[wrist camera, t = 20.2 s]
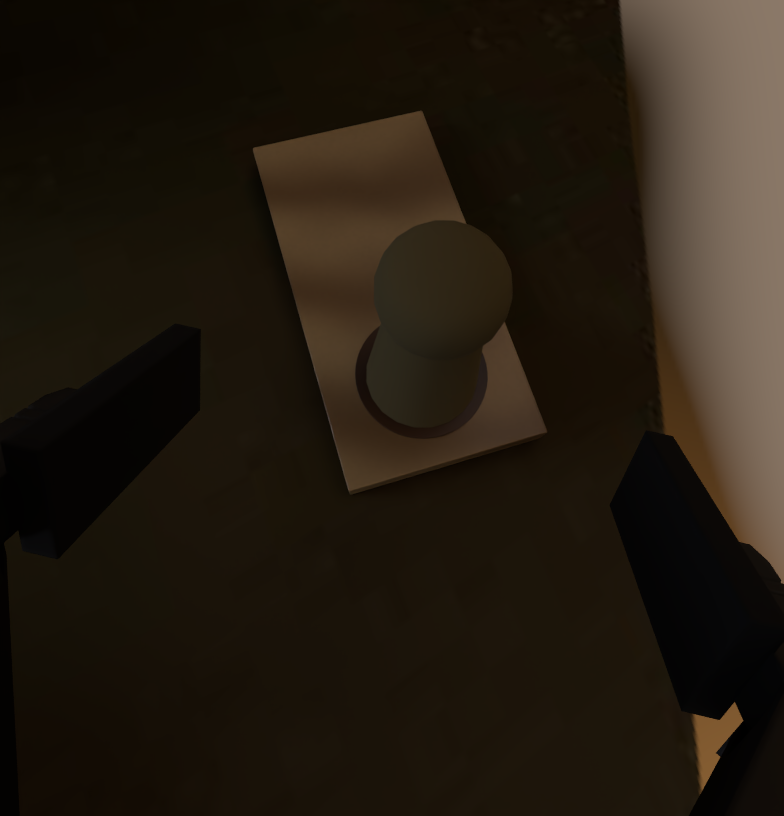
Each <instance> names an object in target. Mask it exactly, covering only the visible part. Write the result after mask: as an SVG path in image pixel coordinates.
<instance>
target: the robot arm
mask: <svg viewBox="0 0 784 816" xmlns="http://www.w3.org/2000/svg"><path fill="white" fill-rule="evenodd" d="M200 337H201V329H197V328H193V327H188V326H184V325H180V324H174V325H172V326H171V327H169V328H168V329H166V330H165V331H164V332H162V333H161V334H159V335H158V336H156V337H155V338H153V339H152V340H150V341H149V342H147V343H146V344H144V345H143V346H141V347H140V348H138V349H137V350H135V351H134V352H132V353H131V354H129V355H128V356H126V357H125V358H124V359H122V360H121V361H119V362H118V363H116V364H115V365H113V366H112V367H110V368H109V369H107V370H106V371H104V372H103V373H101V374H100V375H98V376H97V377H95V378H94V379H92V380H91V381H89V382H88V383H87V384H85V385H84V386H82V387H81V388H79V389H78V390H76V389H72V388H65V389H62V390H59V391H56V392H53V393H50V394H47V395H45V396H43V397H42V398H40V399H38V400H37V401H35V402H34V403H32V404H31V405H29V406H28V408H24V409H23V410H21V411H20V412H18V413H16V414H15V416H14V417H10V418H9V419H7V420H5V421H4V422H2V423H1V424H0V816H20V812H19V793H18V773H17V754H16V734H15V714H14V695H13V675H12V656H11V636H10V617H9V597H8V577H7V558H6V551H5V546H4V542H5V541H6V540H7V539H9V538H10V537H11V536H12V535H13V534H14V533H15V532H16V531H17V530H19V535H20V540H21V545H22V550H23V551H26V552H30V553H34V554H38V555H42V556H46V557H50V558H55V559H58V558H59V557H60V556H61V555H62V554H63V553H64V552H65V551H66V550H67V549H68V548H69V547H70V546H71V545H72V544H73V543H74V542H75V541H76V540H77V538H78V537H79V536H80V535H81V534H82V533H83V532H84V531H85V530H86V529H87V528H88V527H89V526H90V525H91V524H92V523H93V522H94V521H95V520H96V519H97V517H98V516H99V515H100V514H101V513H102V512H103V511H104V510H105V509H106V508H107V507H108V506H109V505H110V504H111V503H112V502H113V501H114V500H115V499H116V498H117V497H118V495H119V494H120V493H121V492H122V491H123V490H124V489H125V488H126V487H127V486H128V485H129V484H130V483H131V482H132V481H133V480H134V479H135V478H136V477H137V476H138V474H139V473H140V472H141V471H142V470H143V469H144V468H145V467H146V466H147V465H148V464H149V463H150V462H151V461H152V460H153V459H154V458H155V457H156V456H157V455H158V453H159V452H160V451H161V450H162V449H163V448H164V447H165V446H166V445H167V444H168V443H169V442H170V441H171V440H172V439H173V438H174V437H175V436H176V435H177V434H178V432H179V431H180V430H181V429H182V428H183V427H184V426H185V425H186V424H187V423H188V422H189V421H190V420H191V419H192V418H193V417H194V416H195V415H196V414H197V413H198V411H199V410H200ZM610 507H611V510H612V513H613V516H614V519H615V522H616V525H617V527H618V530H619V533H620V536H621V539H622V542H623V545H624V547H625V550H626V553H627V556H628V559H629V562H630V565H631V568H632V570H633V573H634V576H635V579H636V582H637V585H638V588H639V590H640V593H641V596H642V599H643V602H644V605H645V608H646V610H647V613H648V616H649V619H650V622H651V625H652V628H653V631H654V633H655V636H656V639H657V642H658V645H659V648H660V651H661V653H662V656H663V659H664V662H665V665H666V668H667V671H668V673H669V676H670V679H671V682H672V685H673V688H674V691H675V694H676V696H677V699H678V702H679V705H680V708H681V711H684V712H688V713H692V714H696V715H701V716H705V717H709V718H713V719H717V720H720V719H721V718H722V716H723V715H724V714H725V713H726V712H727V710H728V709H729V708H730V707H731V705H732V704H733V703H734V702H735V703H736V705H737V707H738V710H739V712H740V714H741V716H742V718H743V722H742V723H741V724H740V726H739V727H738V728H737V729H736V730H735V732H733V734H732V735H731V736H730V737H729V738H728V739H727V741H726V742H725V743H724V744H723V745H722V747H721V748H720V749H719V750H718V751H717V752H716V753H717V754H718V755H719V756H720V759H719V761H718V763H717V765H716V766H715V768H714V770H713V772H712V774H711V776H710V778H709V779H708V781H707V783H706V785H705V787H704V789H703V791H702V792H701V794H700V796H699V798H698V800H697V802H696V804H695V805H694V807H693V809H692V811H691V813H690V815H689V816H784V584H782V583H781V579H780V578H779V576H778V575H777V574H776V572H775V570H774V569H773V567H772V566H771V564H770V563H769V562H768V561H767V560H766V559H765V558H764V557H763V556H762V555H761V554H760V553H758V551H756V550H755V549H754V548H753V547H752V546H751V545H750V544H745V543H741V542H739V541H738V540H737V538H736V537H735V535H734V533H733V532H732V530H731V529H730V527H729V525H728V524H727V522H726V520H725V519H724V517H723V516H722V514H721V512H720V511H719V509H718V508H717V506H716V504H715V503H714V501H713V500H712V498H711V497H710V495H709V493H708V492H707V490H706V488H705V487H704V485H703V484H702V482H701V480H700V479H699V478H698V476H697V474H696V472H695V471H694V469H693V468H692V466H691V464H690V463H689V461H688V460H687V458H686V456H685V455H684V453H683V452H682V450H681V449H680V447H679V445H678V444H677V442H676V440H675V439H674V437H673V436H669V435H665V434H660V433H656V432H651V431H647V430H646V432H645V434H644V436H643V438H642V440H641V442H640V444H639V446H638V448H637V450H636V452H635V454H634V456H633V458H632V460H631V462H630V464H629V467H628V469H627V471H626V473H625V475H624V477H623V479H622V481H621V483H620V485H619V487H618V489H617V491H616V493H615V495H614V497H613V499H612V501H611V503H610Z"/></svg>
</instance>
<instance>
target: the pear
mask: <svg viewBox="0 0 784 816" xmlns="http://www.w3.org/2000/svg"><path fill="white" fill-rule="evenodd" d="M512 298H513V288H512V275H511V270H510V267H509V265H508V263H507V260H506V258H505V256H504V253H503V252H502V251H501V250H500V249H499V248H498V247H497V245H496V244H495V243H494V242H493V241H492V240H491V239H490V237H489V236H488V235H486V234H484V233H483V232H481V231H480V230H478V229H476V228H475V227H473V226H471V225H468V224H464V223H461V222H458V221H454V220H434V221H431V222H427V223H423V224H419V225H416V226H414V227H412V228H410V229H409V230H407V231H406V232H404V233H402V234H401V235H399V236H398V237H396V238H395V240H394V241H393V242H392V243H391V244H390V246H389V247H388V248H387V249H386V250H385V252H384V253H383V255H382V257H381V259H380V262H379V265H378V268H377V270H376V273H375V276H374V305H375V308H376V310H377V313H378V316H379V319H380V322H381V324H380V327H379V330H378V333H377V336H376V339H375V342H374V345H373V348H372V351H371V354H370V357H369V360H368V363H367V379H366V382H367V385H368V388H369V391H370V394H371V397H372V399H373V400H374V402H375V403H376V404H377V406H378V407H379V408H380V410H381V411H382V412H383V413H385V414H386V415H387V416H389V417H390V418H392V419H393V420H395V421H396V422H398V423H401V424H404V425H407V426H411V427H414V428H432V427H435V426H439V425H442V424H445V423H448V422H450V421H451V420H453V419H454V418H455V417H457V416H458V415H460V414H461V413H462V412H463V411H464V410H465V408H466V407H467V406H468V404H469V403H470V401H471V400H472V398H473V395H474V392H475V388H476V385H477V380H478V374H479V367H480V361H481V355H482V349H483V345H485V344H486V343H488V342H489V341H491V340H492V339H493V337H494V336H495V334H496V333H497V332H498V330H499V329H500V328H501V326H502V325H503V323H504V322H505V320H506V318H507V316H508V312H509V309H510V305H511V302H512Z"/></svg>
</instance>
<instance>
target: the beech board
mask: <svg viewBox="0 0 784 816" xmlns="http://www.w3.org/2000/svg"><path fill="white" fill-rule="evenodd" d="M253 152H254V156H255V159H256V163H257V167H258V170H259V174H260V177H261V181H262V184H263V188H264V191H265V195H266V199H267V202H268V206H269V209H270V213H271V216H272V220H273V224H274V227H275V231H276V234H277V238H278V241H279V245H280V249H281V252H282V256H283V259H284V263H285V266H286V270H287V273H288V277H289V281H290V284H291V288H292V291H293V295H294V298H295V302H296V306H297V309H298V313H299V316H300V320H301V323H302V327H303V330H304V334H305V338H306V341H307V345H308V348H309V352H310V355H311V359H312V363H313V366H314V370H315V373H316V377H317V380H318V384H319V388H320V391H321V395H322V398H323V402H324V405H325V409H326V412H327V416H328V420H329V423H330V427H331V430H332V434H333V437H334V441H335V445H336V448H337V452H338V455H339V459H340V462H341V466H342V469H343V473H344V477H345V480H346V484H347V487H348V491H349V494H350V495H352V494H355V493H358V492H362V491H365V490H368V489H372V488H375V487H379V486H382V485H385V484H389V483H392V482H395V481H399V480H402V479H405V478H409V477H412V476H415V475H419V474H422V473H425V472H429V471H432V470H435V469H439V468H442V467H445V466H449V465H452V464H455V463H459V462H462V461H465V460H469V459H472V458H476V457H479V456H482V455H486V454H489V453H492V452H496V451H499V450H502V449H506V448H509V447H512V446H516V445H519V444H522V443H526V442H529V441H532V440H536V439H539V438H540V437H542V436H543V435H544V434H546V433H547V429H546V427H545V424H544V422H543V419H542V417H541V414H540V411H539V409H538V406H537V404H536V401H535V399H534V396H533V393H532V391H531V388H530V386H529V383H528V381H527V378H526V376H525V373H524V370H523V368H522V365H521V363H520V360H519V358H518V355H517V353H516V350H515V347H514V345H513V342H512V340H511V337H510V335H509V332H508V330H507V327H506V324H505V322H504V323H503V325H502V326H501V328H500V329H499V330H498V332H497V333H496V334H495V336H494V337H493V339H492V340H491V341H489V342H488V343H486V344H485V345H483V349H482V355H481V361H480V367H479V374H478V380H477V385H476V388H475V392H474V395H473V398H472V400H471V401H470V403H469V404H468V406H467V407H466V408H465V410H464V411H463V412H462V413H461V414H460V415H458V416H457V417H455V418H454V419H453V420H451V421H450V422H448V423H445V424H442V425H439V426H435V427H432V428H414V427H411V426H407V425H404V424H401V423H398V422H396V421H395V420H393V419H392V418H390V417H389V416H387V415H386V414H385V413H383V412H382V411H381V410H380V408H379V407H378V406H377V404H376V403H375V402H374V400H373V399H372V397H371V394H370V391H369V388H368V385H367V382H366V379H367V363H368V360H369V357H370V354H371V351H372V348H373V345H374V342H375V339H376V336H377V333H378V330H379V327H380V324H381V322H380V319H379V316H378V313H377V310H376V308H375V305H374V276H375V273H376V270H377V268H378V265H379V262H380V259H381V257H382V255H383V253H384V252H385V250H386V249H387V248H388V247H389V246H390V244H391V243H392V242H393V241H394V240H395V238H396V237H398V236H399V235H401V234H402V233H404V232H406V231H407V230H409V229H410V228H412V227H414V226H416V225H419V224H423V223H427V222H431V221H434V220H454V221H458V222H461V223H464V224H466V222H465V220H464V217H463V214H462V212H461V209H460V207H459V204H458V202H457V199H456V196H455V194H454V191H453V189H452V186H451V184H450V181H449V179H448V176H447V173H446V171H445V168H444V166H443V163H442V161H441V158H440V156H439V153H438V150H437V148H436V145H435V143H434V140H433V138H432V135H431V133H430V130H429V127H428V125H427V122H426V120H425V117H424V115H423V112H422V111H418V112H413V113H409V114H404V115H400V116H395V117H391V118H386V119H382V120H377V121H373V122H368V123H364V124H359V125H355V126H350V127H346V128H341V129H337V130H332V131H328V132H323V133H319V134H314V135H310V136H305V137H301V138H296V139H292V140H287V141H283V142H278V143H274V144H269V145H265V146H260V147H256V148H253Z"/></svg>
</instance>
